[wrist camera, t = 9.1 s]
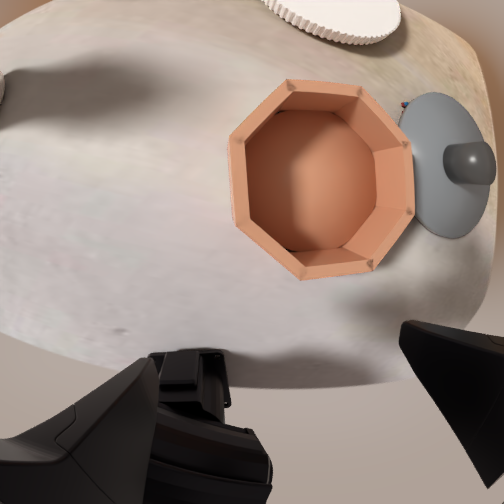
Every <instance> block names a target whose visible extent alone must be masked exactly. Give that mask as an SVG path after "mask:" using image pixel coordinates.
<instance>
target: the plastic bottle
mask: <svg viewBox="0 0 504 504" xmlns="http://www.w3.org/2000/svg"><path fill="white" fill-rule="evenodd" d="M4 92H5V80H4V76H3V73H2V72H1V71H0V104H1V102H2V99H3V96H4Z"/></svg>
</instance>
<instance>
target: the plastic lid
mask: <svg viewBox="0 0 504 504" xmlns="http://www.w3.org/2000/svg"><path fill="white" fill-rule="evenodd" d="M261 1H264V2H265V5H266V6H269V9H270V10H274V13H275V14H279V15H280V16H279V17H281V18H285V19H286V20H285V21H287V22H291V23H292V25H294V26H298V27H299V28H300V29H304V30H306V32H308V33H309V32H311V33H313V35H315V36H316V35H319V36H320V37H321V38H324V37H325V38H327V40H331V39H332V40H334V41H335V42H338V41H340V42H341V43H345V42H346V43H348V44H352V43H353V44H354V45H357V44H360V45H363V44H364V43H365V44H366V45H368V44H369V43H370V44H373V43H374V42H375V43H377V42H378V41H381V40H383V39H385V38H386V37H387V36H388V35H390V34H391V33H392V32H393V31H395V29H396V28H397V26H398V25H399V23H400V19H401V17H400V16H401V13H400V12H401V10H400V9H399V8H400V6H399V5H398V4H399V3H398V2H397V0H261Z"/></svg>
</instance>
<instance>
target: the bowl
mask: <svg viewBox="0 0 504 504" xmlns="http://www.w3.org/2000/svg"><path fill="white" fill-rule="evenodd" d="M277 112H281V113H279V114H277V115H275V114H276V113H277ZM227 151H228V165H229V179H230V192H231V205H232V218H233V221H234V223H235V226H236V227H237V228H239V229H240V230H241V231H242V232H243V233H245V234H246V235H247V236H248V237H249V238H251V239H252V240H253V241H254V242H255V243H257V244H258V245H259V246H260V247H261V248H262V249H264V250H265V251H266V252H267V253H268V254H270V255H271V256H272V257H273V258H274V259H275V260H277V261H278V262H279V263H280V264H281V265H283V266H284V267H285V268H286V269H287V270H288V271H290V272H291V273H292V274H293V275H294V276H296V277H297V278H298V279H299V280H300V281H301V280H310V279H318V278H326V277H333V276H341V275H348V274H355V273H363V272H369V271H373V270H374V269H375V268H376V266H377V265H378V264H379V263H380V261H381V260H382V259H383V257H384V256H385V255H386V254H387V252H388V251H389V250H390V248H391V247H392V246H393V244H394V243H395V242H396V240H397V239H398V238H399V236H400V235H401V233H402V232H403V231H404V229H405V228H406V227H407V225H408V224H409V222H410V221H411V219H412V218H413V217H414V215H415V195H414V173H413V159H412V148H411V142H410V141H409V139H408V138H407V137H406V136H405V134H404V133H403V132H402V131H401V129H400V128H399V127H398V126H397V125H396V123H395V122H394V121H393V120H392V119H391V118H390V116H389V115H388V114H387V113H386V112H385V111H384V110H383V108H382V107H381V106H380V105H379V104H378V103H377V102H376V101H375V100H374V99H373V98H372V97H371V96H370V95H369V94H368V93H367V92H366V91H365V89H364V88H363V87H362V86H355V85H348V84H340V83H331V82H321V81H309V80H292V79H286V80H285V81H284V82H283V83H282V84H281V85H280V86H279V87H278V88H277V89H276V90H274V91H273V92H272V93H271V94H270V95H269V96H268V97H267V98H266V99H265V100H264V101H263V102H262V103H261V104H260V105H259V106H258V107H257V108H256V109H255V110H254V111H253V112H252V113H251V114H250V115H249V116H248V117H247V118H246V119H245V120H244V121H243V122H242V123H241V124H240V125H239V126H238V127H237V128H236V130H235V131H234V132H233V133H232V134H231V135H230V136H229V140H228V147H227ZM283 247H284V248H283ZM285 248H287V249H290V250H293V251H287V250H286V249H285Z"/></svg>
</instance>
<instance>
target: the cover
mask: <svg viewBox="0 0 504 504" xmlns="http://www.w3.org/2000/svg"><path fill="white" fill-rule="evenodd" d="M398 127H399V128H400V129H401V131H402V132H403V133H404V134H405V136H406V137H407V138H408V139H409V141H410V142H411V148H412V159H413V173H414V195H415V216H416V218H417V219H418V220H419V222H420V223H421V224H422V225H423V226H424V227H425V228H427V229H428V230H429V231H431V232H432V233H434V234H436V235H440V236H443V237H447V238H458V237H461V236H464V235H466V234H467V233H469V232H470V231H471V230H472V229H473V228H474V227H475V226H476V225H477V224H478V222H479V220H480V219H481V217H482V215H483V213H484V211H485V208H486V205H487V201H488V197H489V191H490V185H491V184H492V183H493V182H494V180H495V176H496V161H495V157H494V154H493V151H492V149H491V147H490V146H489V145H488V144H487V143H486V142H484V139H483V137H482V134H481V132H480V130H479V128H478V126H477V124H476V123H475V121H474V119H473V118H472V116H471V115H470V114H469V112H468V111H467V110H466V109H465V108H464V107H463V106H462V105H461V104H460V103H459V102H458V101H456V100H455V99H453V98H452V97H450V96H448V95H445V94H442V93H437V92H431V93H426V94H423V95H421V96H418V97H416V98H415V99H413V100H412V101H411V102H410V103H409V104H408V105H407V106H406V108H405V109H404V111H403V113H402V115H401V117H400V120H399V123H398Z"/></svg>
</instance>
